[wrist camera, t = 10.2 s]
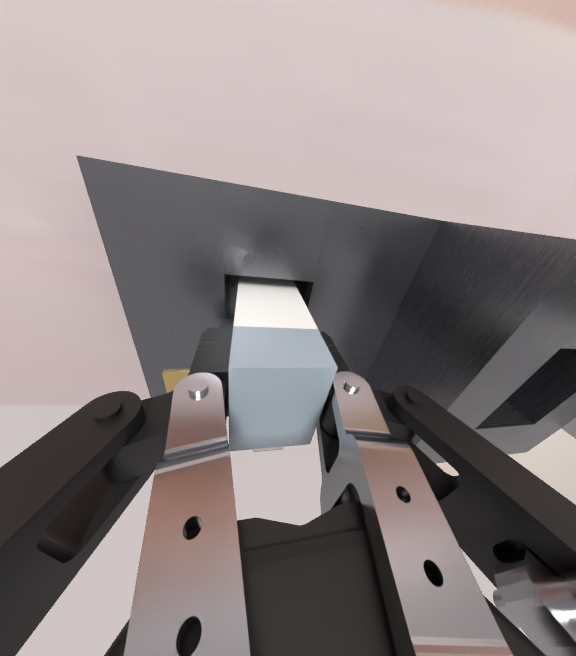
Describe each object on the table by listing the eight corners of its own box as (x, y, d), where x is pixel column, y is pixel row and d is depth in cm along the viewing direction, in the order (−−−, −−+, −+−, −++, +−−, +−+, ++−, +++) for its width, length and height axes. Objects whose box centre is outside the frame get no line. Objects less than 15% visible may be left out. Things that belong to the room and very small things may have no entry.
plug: (290, 275, 12) (338, 367, 6) (280, 339, 15) (305, 454, 8) (239, 270, 12) (228, 368, 5) (238, 338, 14) (229, 462, 8)
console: (512, 235, 15) (777, 276, 7) (428, 360, 21) (526, 451, 14) (134, 168, 10) (-233, 86, 2) (172, 360, 16) (106, 504, 9)
